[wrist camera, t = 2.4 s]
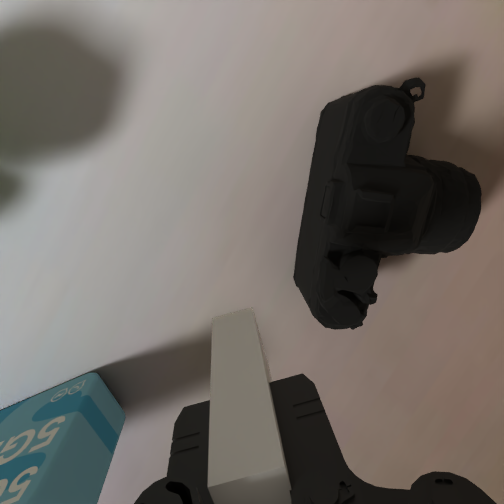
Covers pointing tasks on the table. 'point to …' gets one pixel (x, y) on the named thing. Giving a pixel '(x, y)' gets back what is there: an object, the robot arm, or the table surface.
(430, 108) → the table surface
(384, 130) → the film camera
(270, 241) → the table surface
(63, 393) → the data package
